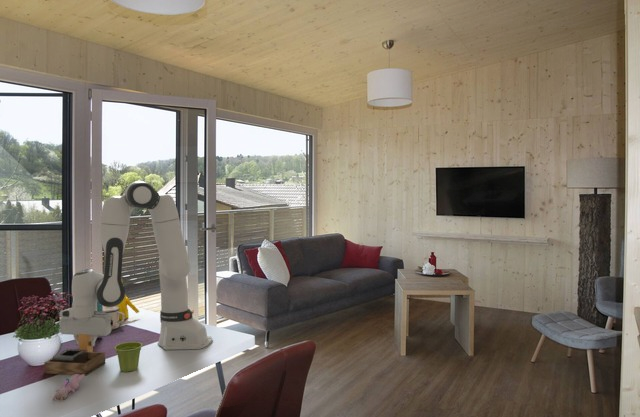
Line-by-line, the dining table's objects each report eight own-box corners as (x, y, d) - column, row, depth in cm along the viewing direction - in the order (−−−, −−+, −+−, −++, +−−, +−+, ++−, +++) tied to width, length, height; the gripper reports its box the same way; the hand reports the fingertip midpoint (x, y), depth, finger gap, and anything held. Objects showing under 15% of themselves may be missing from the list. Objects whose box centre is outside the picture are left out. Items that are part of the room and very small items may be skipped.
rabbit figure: (67, 406, 150) (91, 379, 165) (65, 389, 149) (89, 363, 163) (48, 405, 150) (73, 378, 165) (45, 388, 149) (71, 363, 164)
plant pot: (124, 363, 182) (124, 340, 181) (147, 365, 180) (147, 342, 180) (109, 373, 173) (109, 349, 172) (133, 374, 171) (133, 350, 170)
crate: (105, 363, 182) (105, 352, 182) (85, 375, 170) (85, 364, 170) (66, 360, 184) (66, 350, 184) (44, 373, 172) (44, 362, 172)
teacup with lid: (94, 330, 223) (94, 305, 222) (104, 324, 232) (104, 300, 231) (120, 330, 222) (119, 305, 221) (129, 324, 231) (128, 301, 230)
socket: (87, 361, 181) (87, 349, 181) (73, 369, 173) (73, 357, 173) (68, 360, 182) (67, 348, 182) (53, 368, 174) (53, 356, 174)
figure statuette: (141, 317, 244) (140, 274, 243) (134, 321, 237) (133, 277, 235) (107, 316, 246) (106, 273, 245) (99, 320, 238) (98, 276, 237)
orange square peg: (92, 354, 191) (92, 326, 191) (87, 357, 188) (86, 329, 187) (84, 354, 192) (84, 326, 191) (79, 357, 188) (78, 329, 188)
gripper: (114, 309, 190) (114, 344, 191) (66, 308, 193) (67, 341, 194) (104, 314, 184) (105, 349, 185) (56, 312, 187) (57, 347, 188)
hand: (85, 345), depth 189 cm, fingers open, 4 cm apart
